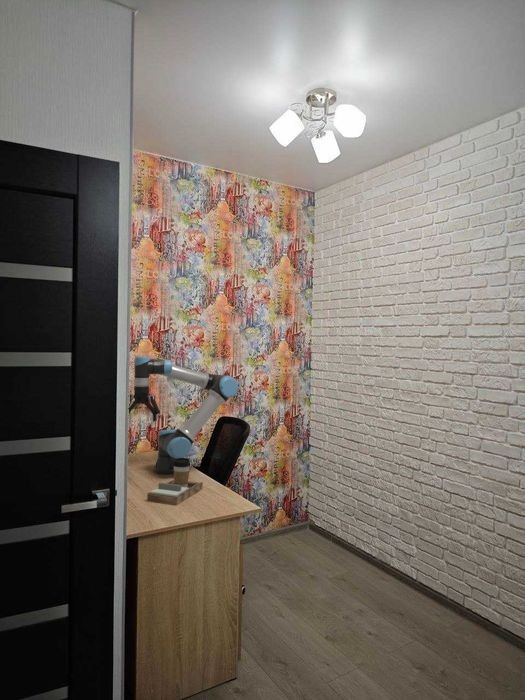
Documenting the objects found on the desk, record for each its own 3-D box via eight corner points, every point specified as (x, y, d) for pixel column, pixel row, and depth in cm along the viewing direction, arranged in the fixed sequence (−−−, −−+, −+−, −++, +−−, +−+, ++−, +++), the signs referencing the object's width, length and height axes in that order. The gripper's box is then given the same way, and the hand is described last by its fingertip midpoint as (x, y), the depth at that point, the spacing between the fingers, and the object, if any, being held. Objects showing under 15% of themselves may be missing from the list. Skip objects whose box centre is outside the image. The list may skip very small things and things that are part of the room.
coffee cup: (192, 488, 237) (193, 458, 237) (185, 493, 229) (186, 462, 229) (176, 487, 239) (176, 457, 239) (169, 492, 231) (170, 460, 231)
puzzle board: (175, 485, 244) (175, 478, 244) (202, 489, 239) (202, 482, 239) (147, 500, 219) (147, 493, 219) (176, 505, 214) (176, 497, 214)
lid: (164, 486, 231) (164, 479, 231) (188, 489, 227) (188, 482, 227) (150, 493, 220) (150, 486, 220) (175, 496, 216) (176, 489, 216)
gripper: (116, 385, 250) (115, 426, 251) (160, 387, 244) (159, 429, 244) (124, 384, 258) (123, 424, 258) (166, 386, 251) (166, 426, 252)
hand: (141, 426), depth 251 cm, fingers open, 13 cm apart
